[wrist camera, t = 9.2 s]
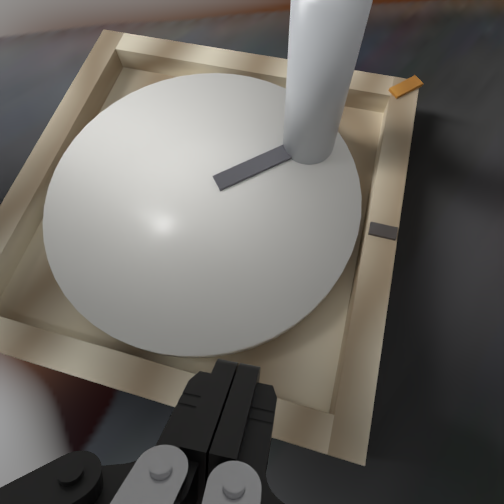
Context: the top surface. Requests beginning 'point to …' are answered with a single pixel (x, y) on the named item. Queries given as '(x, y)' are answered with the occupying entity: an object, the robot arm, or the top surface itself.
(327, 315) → the dial housing
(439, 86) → the top surface
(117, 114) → the dial
